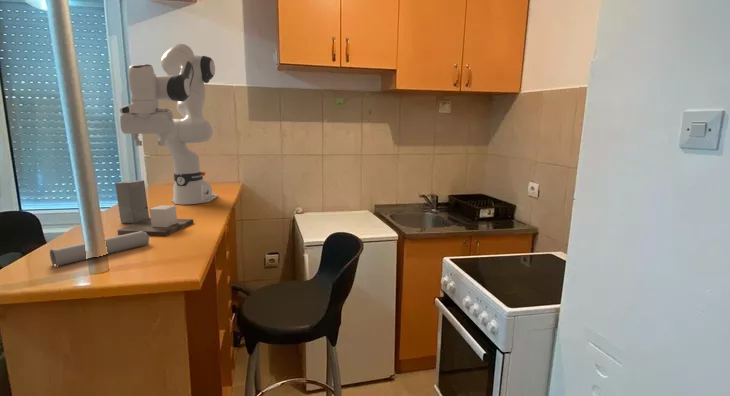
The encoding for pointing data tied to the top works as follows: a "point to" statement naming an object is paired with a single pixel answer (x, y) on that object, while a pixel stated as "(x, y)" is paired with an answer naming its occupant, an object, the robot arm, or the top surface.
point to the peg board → (155, 231)
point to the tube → (112, 244)
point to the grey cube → (163, 216)
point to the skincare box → (132, 201)
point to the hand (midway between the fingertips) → (150, 145)
